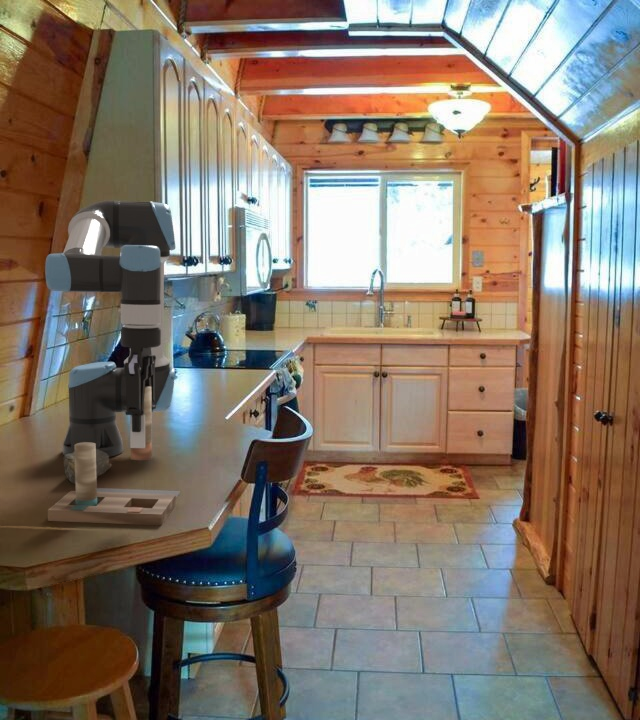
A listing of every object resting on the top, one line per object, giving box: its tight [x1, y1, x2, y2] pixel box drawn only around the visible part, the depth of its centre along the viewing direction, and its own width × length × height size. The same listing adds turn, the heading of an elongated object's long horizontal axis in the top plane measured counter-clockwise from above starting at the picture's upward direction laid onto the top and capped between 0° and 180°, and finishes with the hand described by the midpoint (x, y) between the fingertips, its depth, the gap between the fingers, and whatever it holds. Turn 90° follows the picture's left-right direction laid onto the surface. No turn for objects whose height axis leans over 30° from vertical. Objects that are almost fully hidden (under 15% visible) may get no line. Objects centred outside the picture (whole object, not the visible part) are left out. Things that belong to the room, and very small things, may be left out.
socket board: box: [47, 490, 177, 526], centre depth 148 cm, size 12×22×3 cm, turn 88°
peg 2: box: [129, 386, 153, 461], centre depth 145 cm, size 4×4×14 cm
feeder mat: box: [97, 487, 182, 498], centre depth 159 cm, size 8×20×1 cm, turn 88°
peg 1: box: [74, 442, 98, 506], centre depth 147 cm, size 4×4×14 cm
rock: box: [63, 449, 112, 485], centre depth 172 cm, size 17×7×10 cm
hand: (141, 444), depth 146 cm, fingers closed on peg 2, 4 cm apart
